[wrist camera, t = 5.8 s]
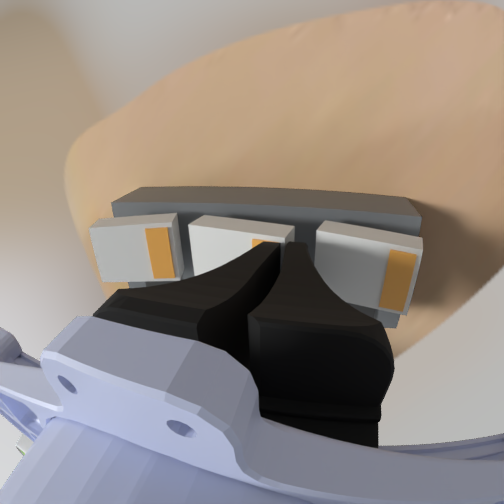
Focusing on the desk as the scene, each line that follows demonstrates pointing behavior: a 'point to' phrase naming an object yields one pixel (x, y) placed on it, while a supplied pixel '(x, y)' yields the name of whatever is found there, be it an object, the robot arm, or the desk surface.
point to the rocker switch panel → (273, 216)
